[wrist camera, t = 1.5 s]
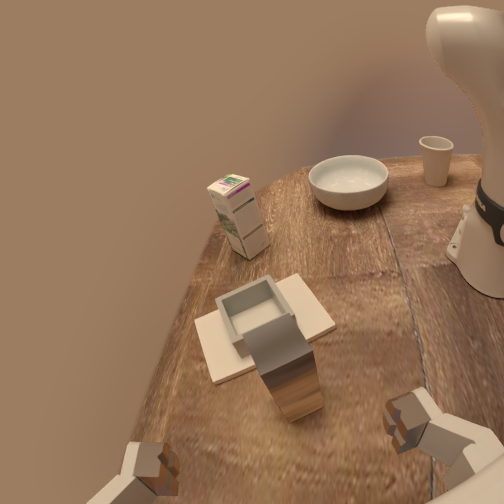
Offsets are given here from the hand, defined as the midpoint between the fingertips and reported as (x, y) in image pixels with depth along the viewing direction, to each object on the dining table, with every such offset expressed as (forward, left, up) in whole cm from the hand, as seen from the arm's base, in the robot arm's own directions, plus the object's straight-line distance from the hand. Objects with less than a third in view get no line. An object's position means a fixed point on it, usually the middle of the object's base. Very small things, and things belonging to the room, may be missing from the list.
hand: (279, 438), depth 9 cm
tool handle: (-7, -8, -24) cm, 26 cm away
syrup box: (-28, -32, -24) cm, 49 cm away
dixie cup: (-64, -3, -24) cm, 69 cm away
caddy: (-14, -19, -24) cm, 33 cm away
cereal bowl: (-49, -20, -24) cm, 58 cm away
